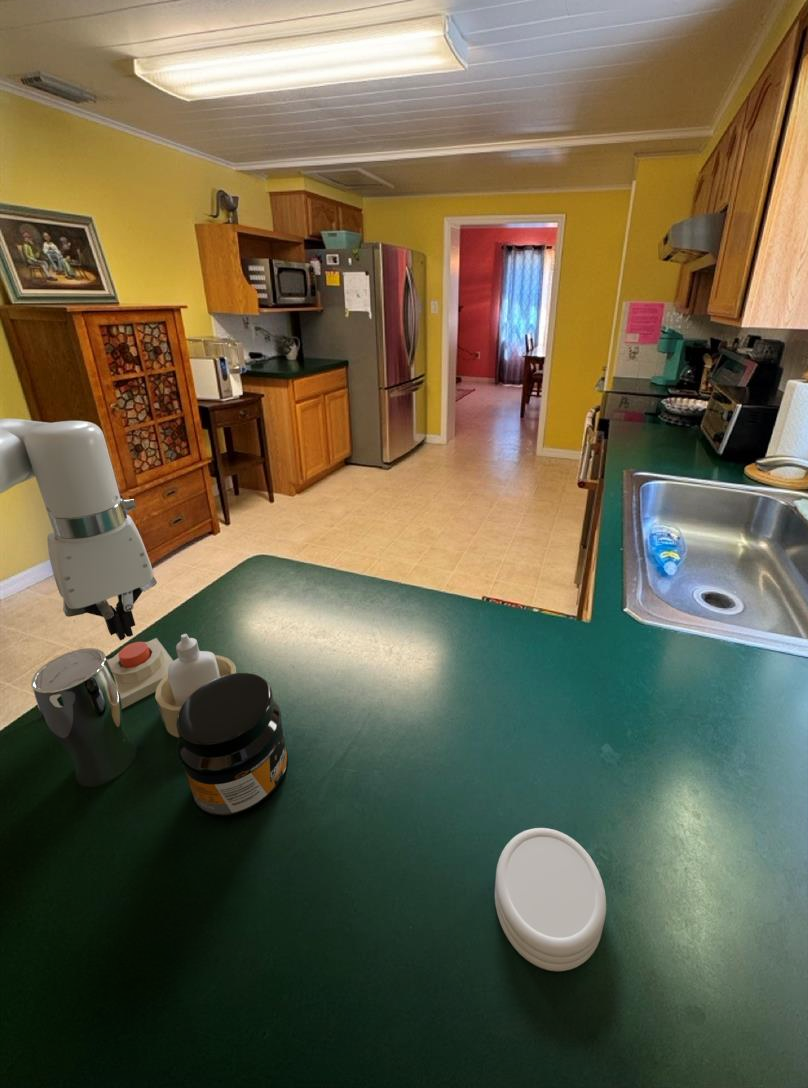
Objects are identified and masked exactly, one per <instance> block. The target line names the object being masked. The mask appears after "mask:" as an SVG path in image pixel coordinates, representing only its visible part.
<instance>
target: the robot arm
mask: <svg viewBox="0 0 808 1088" xmlns="http://www.w3.org/2000/svg"><path fill="white" fill-rule="evenodd" d="M33 478H35V480H36V483H37V486H38V489H39V491H40V495H41V497H42V500H43V503H44V507H45V509H46V512H47V515H48V519H49V522H50V525H51V527H52V531H51V532H50V533H49V534H48V535H47V550H48V556H49V562H50V566H51V569H52V574H53V577H54V580H55V584H56V587H57V590H58V593H59V595H60V597H61V598H62V599H63V601H62V602H63V605H62V612H63V613H64V615H65V616H66V617H67V618H69V617H70V618H71V617H76V616H81V615H85V614H89V615H93V616H97V617H101V618H103V619H104V621H105V625H106V627H107V630H108V633H109V635H110V636H113V635H116V637H117V638H118V639H119V642H120V641H123V640H125V638H126V637H127V638H130V637H133V636H134V632H133V629H132V628H133V627H135V626H136V622H135V618H134V614H133V612H132V610H133V609H134V604H135V603H136V602H137V600H138V599H139V598H140V596H141V595H142V593H144V592H146V591H148V590H150V589H152V588H153V587H155V586H156V585H157V584H158V581H157V579H156V578H155V577H154V571H153V567H152V564H151V560H150V557H149V555H148V552H147V549H146V547H145V543H144V541H143V539H142V536H141V534H140V532H139V529H138V528H137V526H136V524H135V522H134V520H133V519H132V517H131V515H129V512H130V511H131V510H135V509H137V504H136V501H135V500H134V498H132V499H123V498H122V497H121V495H120V491H119V487H118V482H117V479H116V475H115V472H114V467H113V464H112V460H111V457H110V453H109V449H108V446H107V441H106V438H105V435H104V433H103V431H102V429H101V428H100V426H98V425H97V424H96V423H94V422H90V421H86V420H85V421H84V420H63V421H55V422H45V421H38V420H37V421H36V420H31V419H22V418H12V417H11V418H0V495H2V494H3V493H5V492H7V491H8V490H10V489H11V488H13V487H15V486H16V485H19V484H21V483H23V482H26V481H30V480H31V479H33ZM115 597H117V603H116V604H115V607H113V605H111V604H109V602H108V600H110V599H112V598H115Z"/></svg>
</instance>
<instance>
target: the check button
mask: <svg viewBox="0 0 808 1088" xmlns="http://www.w3.org/2000/svg"><path fill="white" fill-rule="evenodd" d="M145 642H146V641H135V642H132V643H129V644H127V645H125V646H124V647H122V648H121V649H120V650H119V652H118V653H119V659H120V662H121V665H122V666H123V667H125V668H130V667H136V666H138V665H140V664H142V663H144V662H145V661H147V660H148V659H149V657H150V652H149V649H148V645H147V644H146V643H145Z"/></svg>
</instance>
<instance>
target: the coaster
mask: <svg viewBox="0 0 808 1088" xmlns="http://www.w3.org/2000/svg"><path fill="white" fill-rule="evenodd" d="M494 905H495V910H496V915H497V918H498V921H499V924H500V926H501V928H502V930H503V933H504V935H505V937H506V938H507V940H508V941H509V942H510V944H511V946H512V947H513V948H514V949H515V950H516V952H517V953H518V954H519V955H520V956H521V957H523V958H524V959H525V960H526V961H527V962H529V963H531V964H533V966H536V967H538V968H540V969H543V970H547V971H551V972H566V971H570V970H574V969H575V968H578V967H579V966H581V965H583V964H584V963H585V962H586V961H588V960H589V959H590V958H591V956H592V955H593V954H594V953H595V951H596V950H597V948H598V945H599V943H600V940H601V938H602V933H603V929H604V925H605V921H606V917H607V916H606V915H607V898H606V891H605V886H604V882H603V880H602V876H601V873H600V871H599V869H598V867H597V866H596V863H595V862H594V860H593V859H592V857H591V855H590V854H589V853H588V852H587V850H585V848H584V847H583V846H582V845H581V844H580V843H579V842H577V841H576V840H575V839H574V838H572V837H571V836H570V835H568V834H566V833H564V832H562V831H559V830H556V829H551V828H547V827H534V828H530V829H526V830H523V831H521V832H519V833H518V834H516V835H515V836H513V837H512V838H511V839H510V840H509V841H508V842H507V844H506V845H505V847H504V848H503V849H502V851H501V853H500V855H499V858H498V861H497V865H496V870H495V882H494Z"/></svg>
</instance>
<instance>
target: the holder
mask: <svg viewBox="0 0 808 1088" xmlns="http://www.w3.org/2000/svg"><path fill="white" fill-rule="evenodd" d="M214 655H215V658H216V662H217V666H218V670H219V674H220V677H221V676H225V675H229V674H234V673H238V671H237V666H236V664H235V663H234V661H232V660H231V659H230V658H228V657H226V656H222V655H219V654H218V655H217V654H214ZM154 698H155V702H156V705H157V709H158V712H159V714H160V715H159V716H160V717H161V721H162V724H163V726H164V728H165V730H166V731H167V732H168V733H169V734H170V735H171V736H172V737H176V738H179V733H178V730H177V725H176V722H177V716H178V713H179V711H180V708H181V707H182V706H177V705H176V702H175V699H174V695H173V692H172V688H171V685H170V681H169V677H168V674H166V675H165V676H164V677H163V679H162V680H161V682H160V683H159V685H158V686H157V688H156V692H155V695H154Z"/></svg>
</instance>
